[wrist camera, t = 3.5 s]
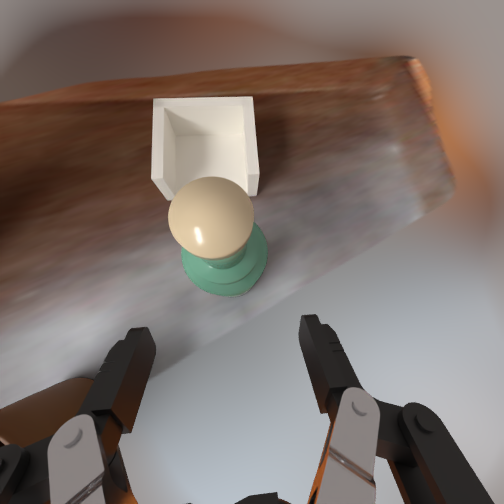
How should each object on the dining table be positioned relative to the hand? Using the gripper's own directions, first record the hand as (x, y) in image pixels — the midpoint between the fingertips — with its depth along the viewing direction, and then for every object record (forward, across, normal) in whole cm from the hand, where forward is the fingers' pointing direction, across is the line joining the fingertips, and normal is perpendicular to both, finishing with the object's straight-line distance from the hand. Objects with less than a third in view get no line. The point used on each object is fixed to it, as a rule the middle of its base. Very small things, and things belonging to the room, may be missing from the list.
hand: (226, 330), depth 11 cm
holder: (+23, +2, -4) cm, 24 cm away
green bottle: (+13, 0, +6) cm, 14 cm away
